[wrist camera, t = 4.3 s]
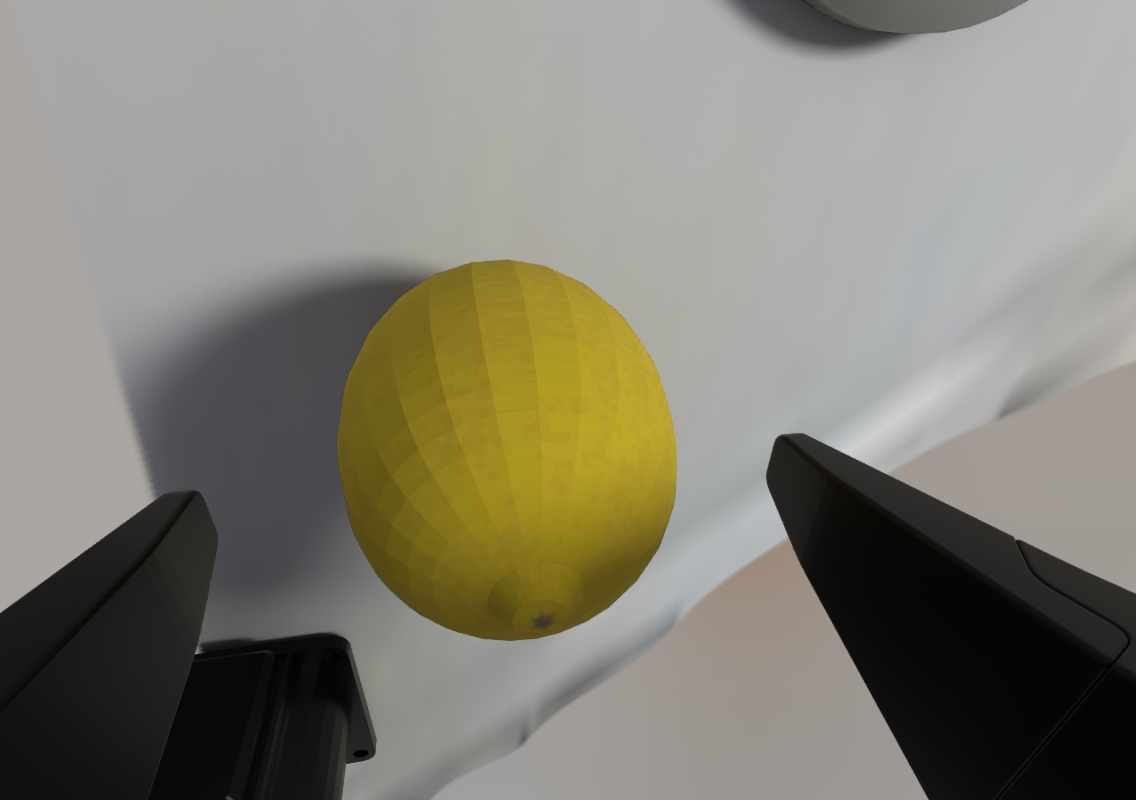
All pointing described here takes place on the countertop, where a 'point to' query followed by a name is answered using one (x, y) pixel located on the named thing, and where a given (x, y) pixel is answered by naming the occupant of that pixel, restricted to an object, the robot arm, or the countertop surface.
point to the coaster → (913, 13)
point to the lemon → (506, 451)
